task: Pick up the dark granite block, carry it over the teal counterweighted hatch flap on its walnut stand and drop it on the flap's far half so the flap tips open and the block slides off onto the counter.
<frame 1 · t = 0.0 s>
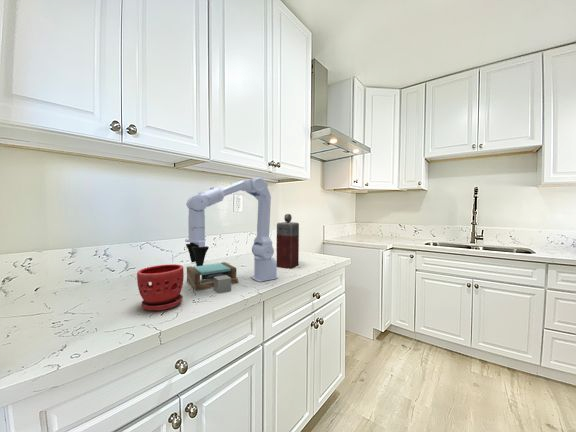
hand: (196, 263, 92), 10 cm above the worktop, fingers open, 7 cm apart
red lidded canister: (285, 266, 132), on the worktop
plant pot: (161, 305, 78), on the worktop
granite block: (222, 290, 93), on the worktop
hatch stand: (211, 281, 103), on the worktop
hatch flap: (211, 271, 103), point 4 cm above the worktop, hinge at 0.1°
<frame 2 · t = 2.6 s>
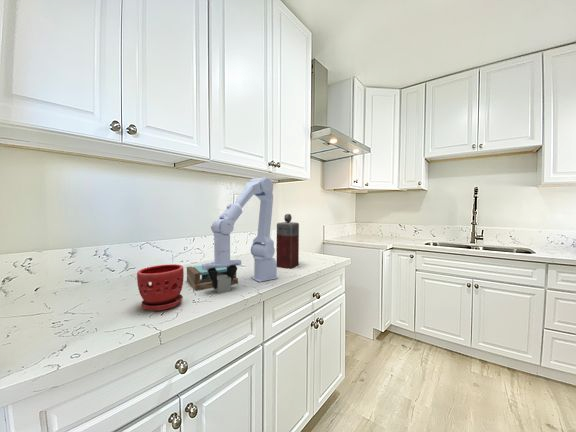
hand: (222, 286, 93), 1 cm above the worktop, fingers closed on granite block, 5 cm apart
granite block: (222, 290, 93), on the worktop, touching gripper
everything else where it was.
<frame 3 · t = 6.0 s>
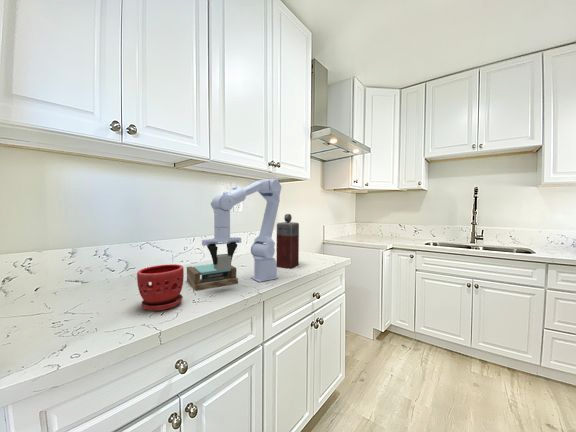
hand: (222, 263, 92), 10 cm above the worktop, fingers closed on granite block, 5 cm apart
granite block: (222, 268, 92), point 8 cm above the worktop, touching gripper
everything else where it was.
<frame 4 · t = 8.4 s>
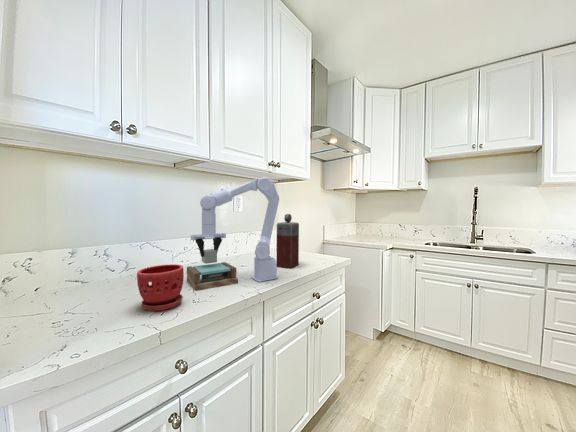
hand: (208, 255, 106), 10 cm above the worktop, fingers closed on granite block, 5 cm apart
granite block: (209, 261, 105), point 8 cm above the worktop, touching gripper
everything else where it was.
when the fingers open (10 cm above the worktop, at t = 9.5 s): granite block drops 4 cm and tips over, resting on hatch flap.
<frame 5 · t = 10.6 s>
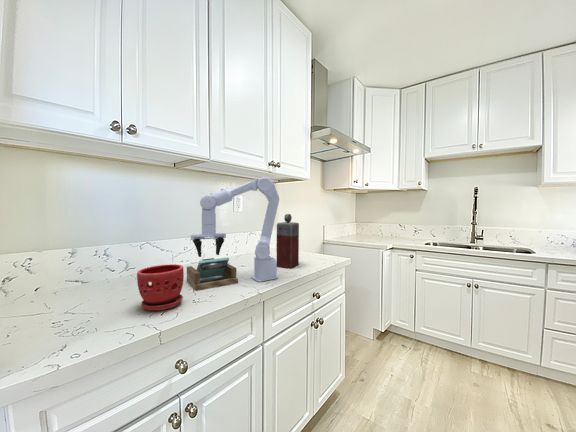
hand: (208, 255, 106), 10 cm above the worktop, fingers open, 7 cm apart
granite block: (209, 271, 105), point 4 cm above the worktop, tilted 46°, touching hatch flap
hatch flap: (212, 271, 102), point 5 cm above the worktop, hinge at -46.3°, touching granite block
everything else where it was.
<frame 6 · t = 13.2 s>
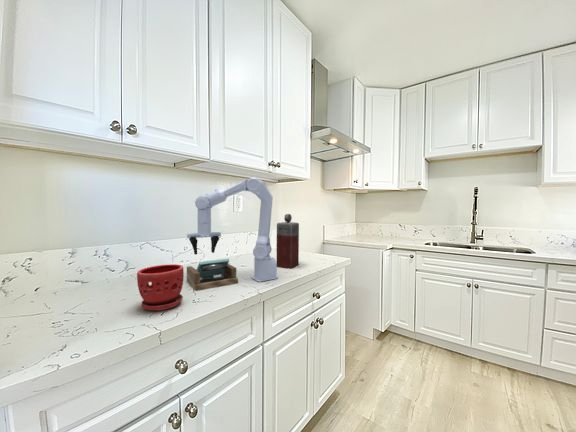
hand: (204, 253, 111), 10 cm above the worktop, fingers open, 7 cm apart
granite block: (207, 273, 107), point 2 cm above the worktop, tilted 90°, touching hatch flap
hatch flap: (212, 271, 103), point 5 cm above the worktop, hinge at -40.5°, touching granite block
everything else where it was.
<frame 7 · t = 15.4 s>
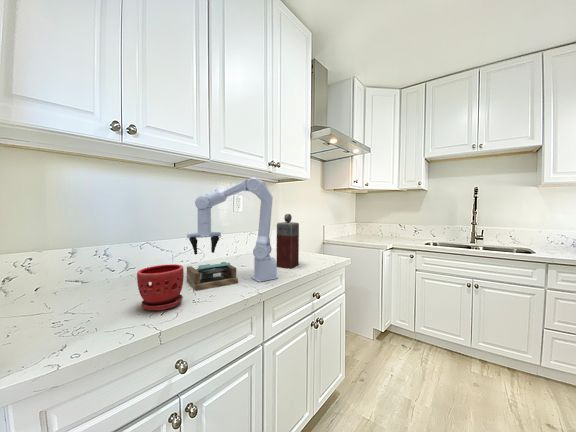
hand: (204, 253, 111), 10 cm above the worktop, fingers open, 7 cm apart
hatch flap: (211, 271, 103), point 4 cm above the worktop, hinge at -23.8°, touching granite block
everything else where it was.
at the end: granite block touching hatch flap, worktop; granite block inside the target area on the worktop beside the hatch stand (4.3 cm from its centre), point 2.5 cm above the worktop; the gripper is holding nothing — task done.
